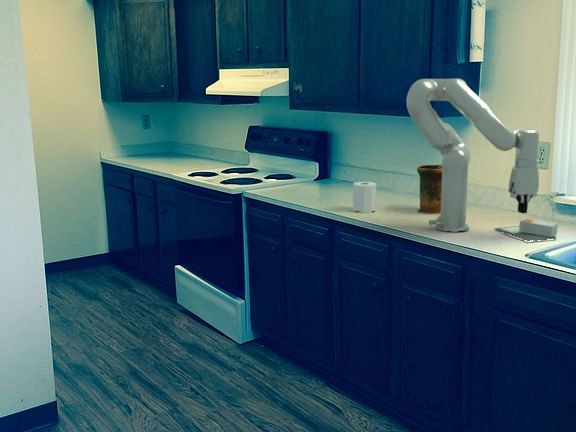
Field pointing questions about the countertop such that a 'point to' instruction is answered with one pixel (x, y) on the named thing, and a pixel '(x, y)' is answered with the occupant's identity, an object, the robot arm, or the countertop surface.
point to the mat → (522, 234)
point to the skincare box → (538, 227)
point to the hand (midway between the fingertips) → (522, 212)
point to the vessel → (430, 188)
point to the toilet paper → (364, 196)
